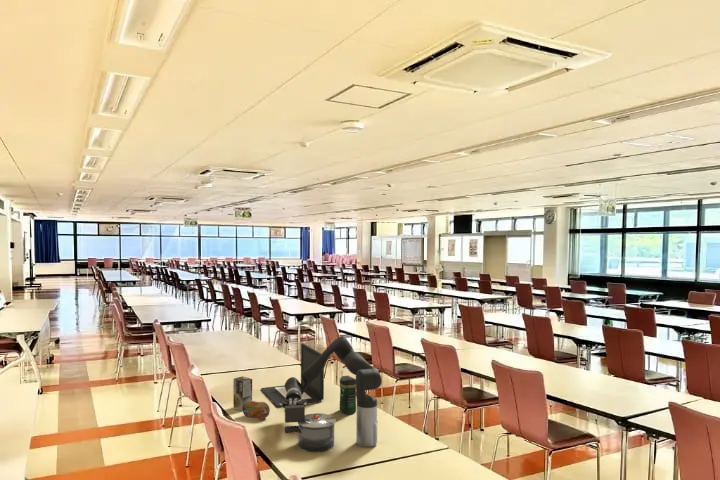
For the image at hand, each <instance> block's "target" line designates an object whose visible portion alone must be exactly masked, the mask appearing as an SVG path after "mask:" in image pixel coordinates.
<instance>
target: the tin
mask: <svg viewBox="0 0 720 480" xmlns="http://www.w3.org/2000/svg"><path fill="white" fill-rule="evenodd" d="M270 409H271V408H270V406H269V404H268V403H267V402H265V401H258V400H257V401H256V400H252V401H247V402H245V403H244V405H243V408H242V410H243V411H242V413H243V415H244V416H245V417H246V418H248V419H257V420H264V419H266V418H268V417H269V415H270V413H271V410H270Z"/></svg>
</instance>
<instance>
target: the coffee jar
mask: <svg viewBox="0 0 720 480" xmlns="http://www.w3.org/2000/svg"><path fill="white" fill-rule="evenodd" d="M339 411H340V412H341V413H343V414H348V415H349V414H354V413H357V399H356V378H354V377H352V376H350V375H341V377H340V378H339Z"/></svg>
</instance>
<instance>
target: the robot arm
mask: <svg viewBox="0 0 720 480" xmlns="http://www.w3.org/2000/svg"><path fill="white" fill-rule="evenodd" d="M333 353H334V354H335V356H337V358H338V359H339V360H340V361H342V362H343V363H344V365H345V367H346V369H347V370H348V371H349V373H351V374H352V375H355V379H356V423H355V424H356V428H355V429H356V431H355V432H356V433H355V434H356V436H355V437H356V438H355V439H356V442H355V444H356V445H357V446H360V447H364V448H365V447H366V448H367V447H368V448H369V447H370V448H371V447H376V446H377V443H378V400H377V398H376V397H375V396H372V395H368V394H367V393H366V391H372V390H373V391H374V390H377V389H379V388H380V387H381V386H382V375H381V373H380V372H379V370H378V369H377V368H376V367H374V366H373V365H371V364H370V363H369V362H368V361H367V360H366V359H365V358H364V357H363V356H362V355H361V354H360V353H359V352H357V351H355V349H354V348H353V346H352V345H351V343H350V342H349V340H348V339H347V338H346V337H345V336H342V335H341V336H338V337H337V338H335V339H334V340H332V342H331V343H330V344H329V345H328V346H327V347H326V348H325V350H324V351H323V352H322V353H321V355H320V356H319V357H318V359H317V360H316V361H315V362H314V363H312V364H311V365H310V366H309V367H308V368H307V369H305V370H304V371H303V372H302V373H301V372H300V378H301V377H302V379H303V385H301V381H299V379H297V378H296V377H294V376H292V377H289V378H288V379H287V380H286V381H285V383H284V385H285V389H286V392H287V394H286V399H285V400H284V401H280V407H281V408H283V409H285V406H297V405H304V406H305V407H306V406H307V404H306V400H303V401H302V399H301V397H302V394H303V393H304V391H305V390H306V388H307V387H308V386H309V384H310V383H311V382H312V381H314V380H315V379H316V378H317V377H318V376H319V375H320V374H321V373H322V371H323V369H324V370H325V367H326V364H327V362H328V360H329V358H330V357H331V355H332V354H333Z"/></svg>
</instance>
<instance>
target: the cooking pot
mask: <svg viewBox="0 0 720 480" xmlns="http://www.w3.org/2000/svg"><path fill="white" fill-rule="evenodd" d="M297 433H298V438H297V439H298V443H297V445H298V448H299V449H301V450H303V451H306V452H312V453H315V452H316V453H317V452H325V450H326V451H329V450H330V449H333V448H334V446H335V424H333V425H331V426H329V427H325V428H306V427H303V426H300V425H299V424H298V425H287V426H284V434H297Z"/></svg>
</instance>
